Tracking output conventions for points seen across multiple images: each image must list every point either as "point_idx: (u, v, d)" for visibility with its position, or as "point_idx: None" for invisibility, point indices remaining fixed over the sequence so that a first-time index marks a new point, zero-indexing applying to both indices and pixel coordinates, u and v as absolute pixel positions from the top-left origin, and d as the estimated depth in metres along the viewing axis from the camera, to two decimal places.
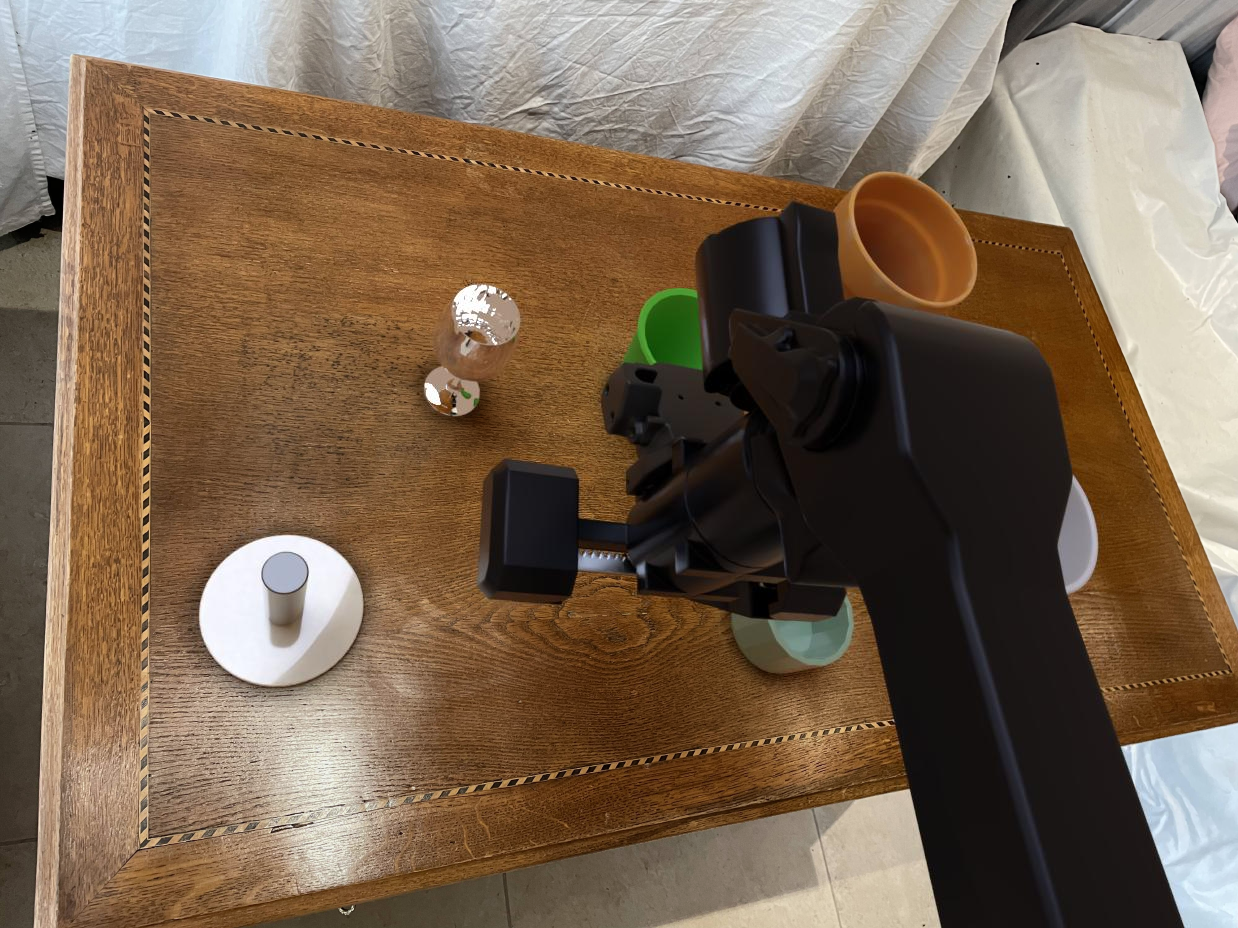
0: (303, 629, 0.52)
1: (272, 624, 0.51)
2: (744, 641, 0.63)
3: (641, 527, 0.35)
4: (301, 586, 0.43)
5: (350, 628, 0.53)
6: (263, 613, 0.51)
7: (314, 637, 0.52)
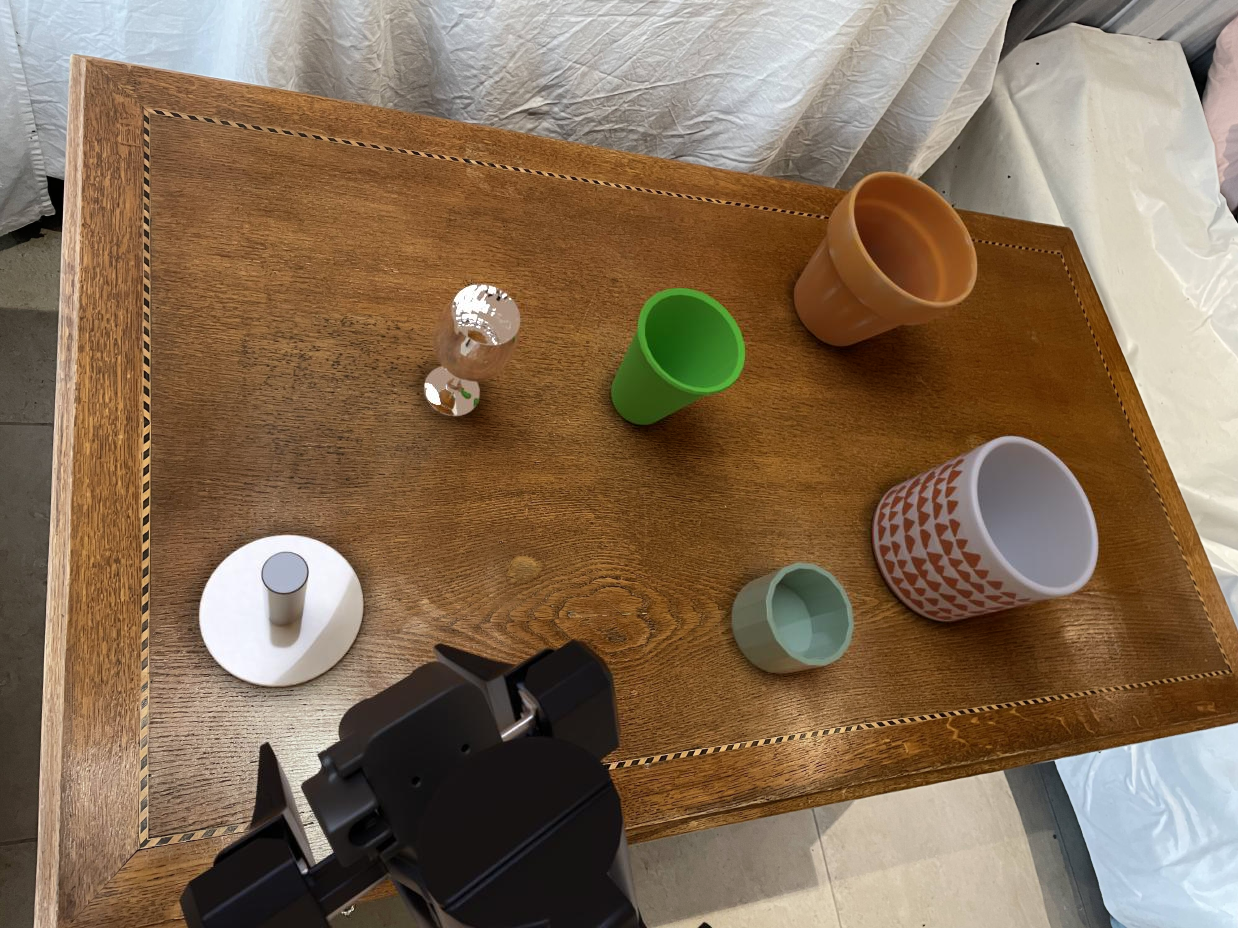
0: (303, 629, 0.52)
1: (272, 624, 0.51)
2: (744, 641, 0.63)
3: (403, 900, 0.31)
4: (301, 586, 0.43)
5: (350, 628, 0.53)
6: (263, 613, 0.51)
7: (314, 637, 0.52)
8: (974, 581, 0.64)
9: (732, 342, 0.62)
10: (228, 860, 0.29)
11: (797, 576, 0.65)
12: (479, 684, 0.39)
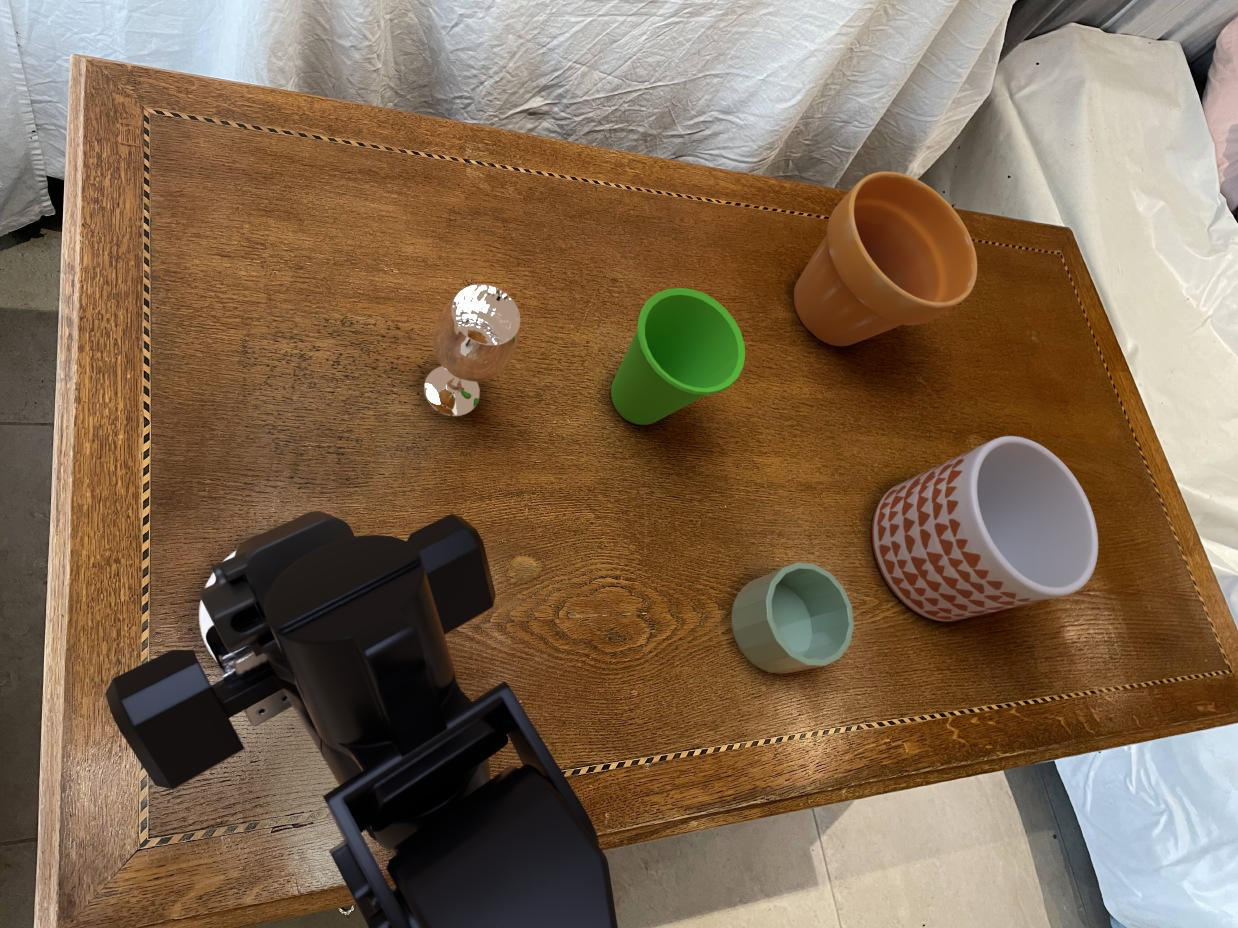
0: None
1: None
2: (744, 641, 0.63)
3: (291, 704, 0.38)
4: None
5: None
6: None
7: None
8: (974, 581, 0.64)
9: (732, 342, 0.62)
10: (146, 664, 0.36)
11: (797, 576, 0.65)
12: None
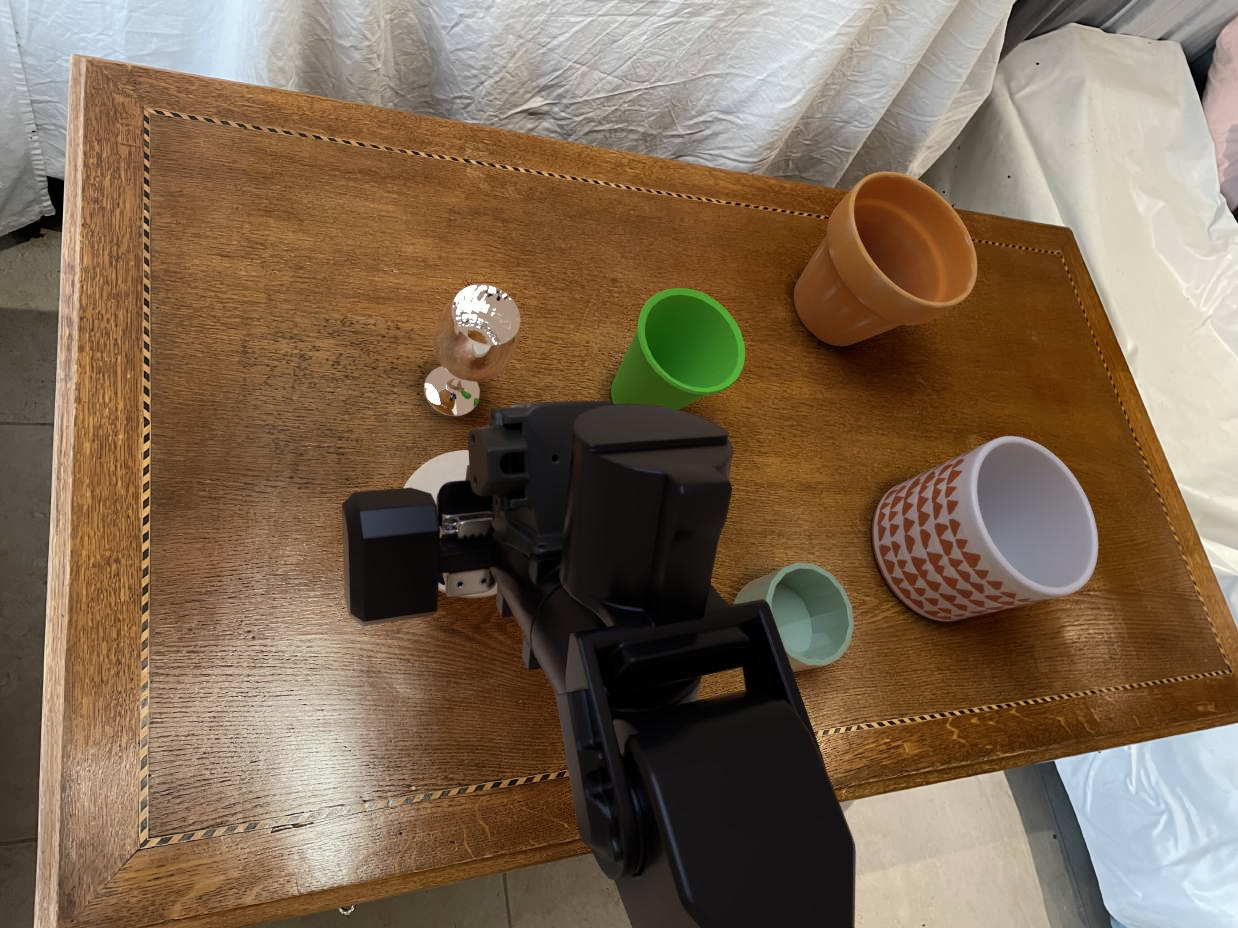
0: None
1: None
2: None
3: (500, 580, 0.37)
4: None
5: None
6: None
7: None
8: (974, 581, 0.64)
9: (732, 342, 0.62)
10: (385, 491, 0.36)
11: (797, 576, 0.65)
12: None
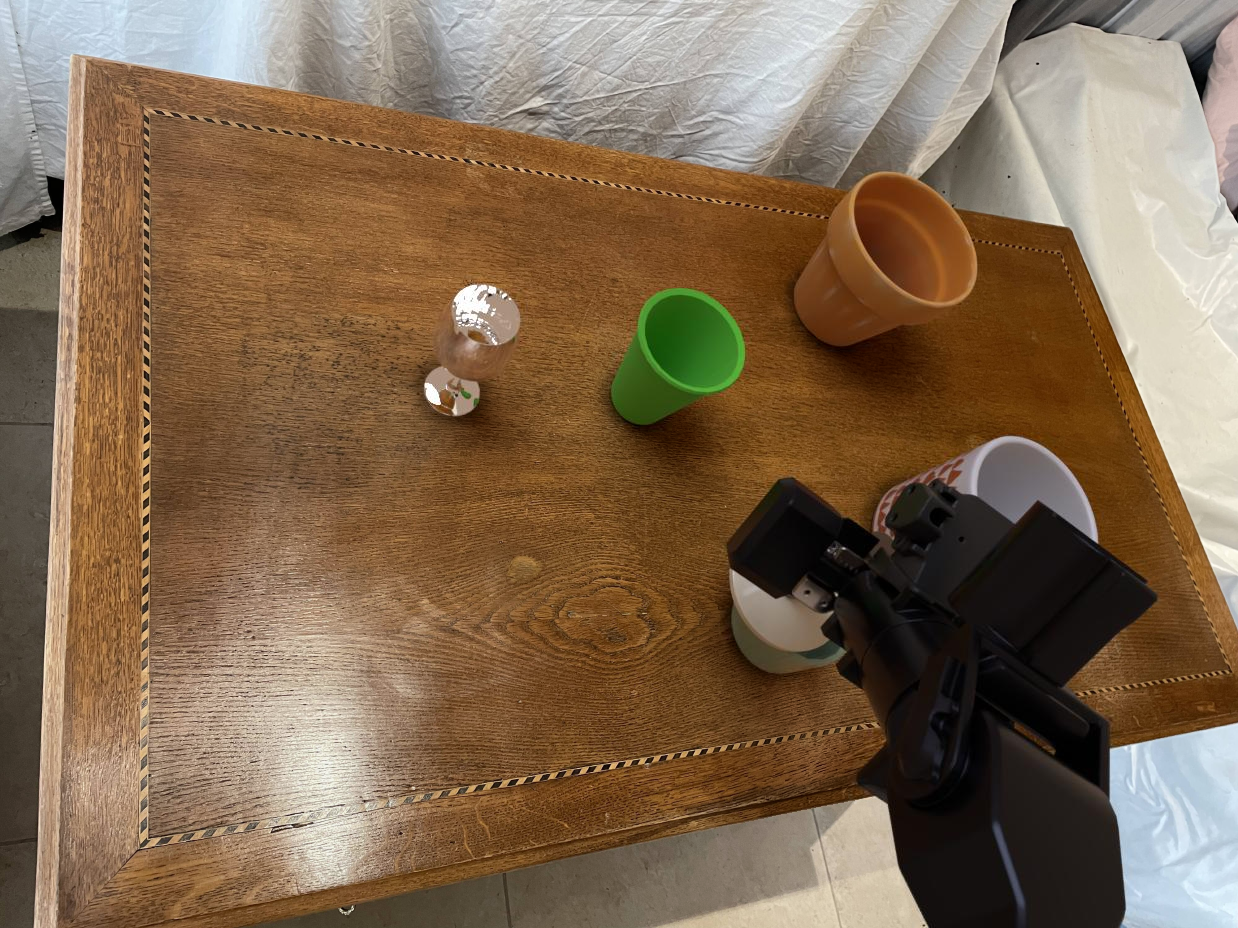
0: (787, 607, 0.58)
1: None
2: (744, 641, 0.63)
3: (850, 603, 0.44)
4: None
5: (808, 642, 0.58)
6: None
7: (787, 619, 0.58)
8: None
9: (732, 342, 0.62)
10: (811, 491, 0.46)
11: None
12: None
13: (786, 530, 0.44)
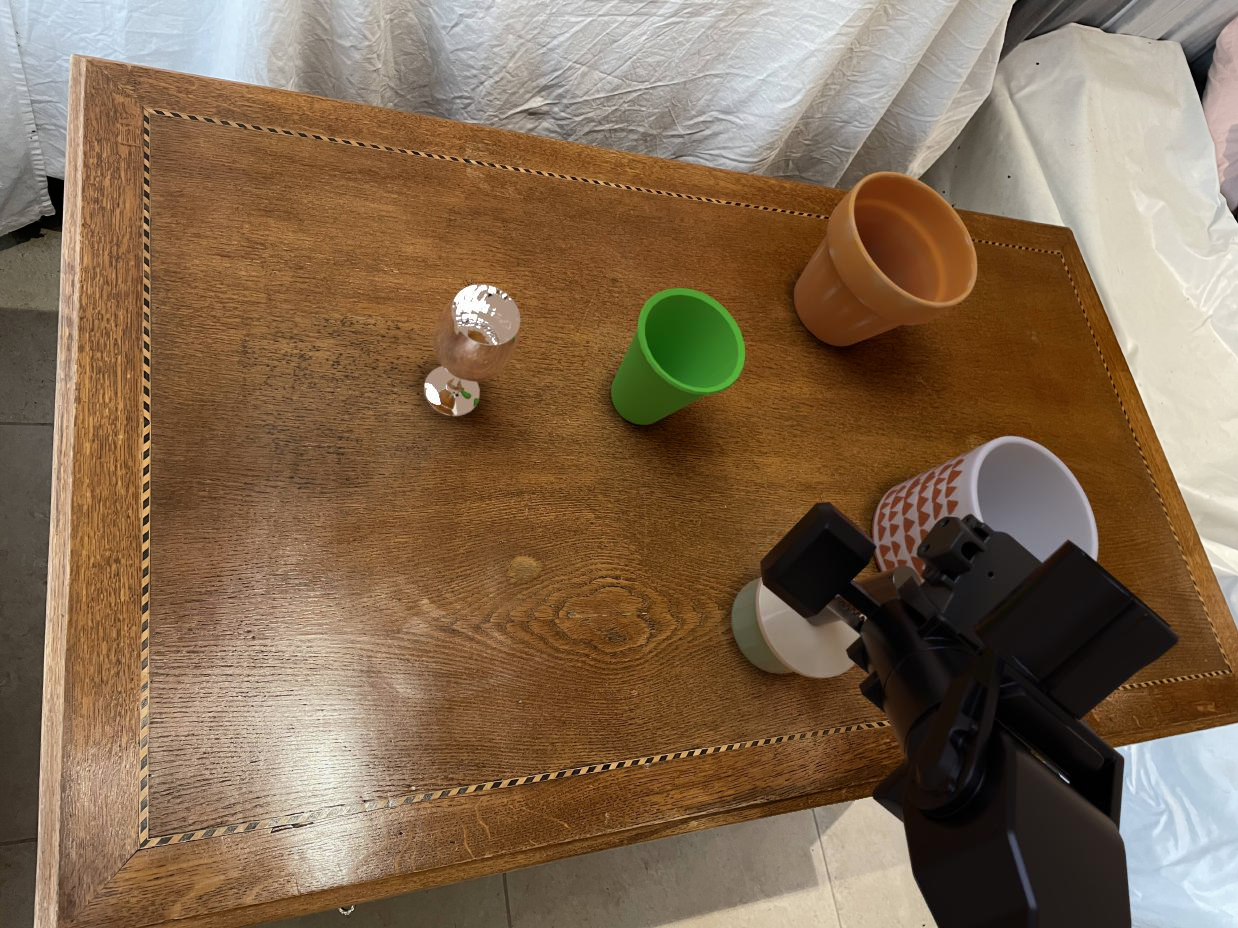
0: (809, 633, 0.60)
1: None
2: (744, 641, 0.63)
3: (877, 627, 0.45)
4: None
5: (828, 669, 0.59)
6: None
7: (809, 645, 0.60)
8: None
9: (732, 342, 0.62)
10: (846, 517, 0.47)
11: None
12: None
13: (820, 552, 0.46)
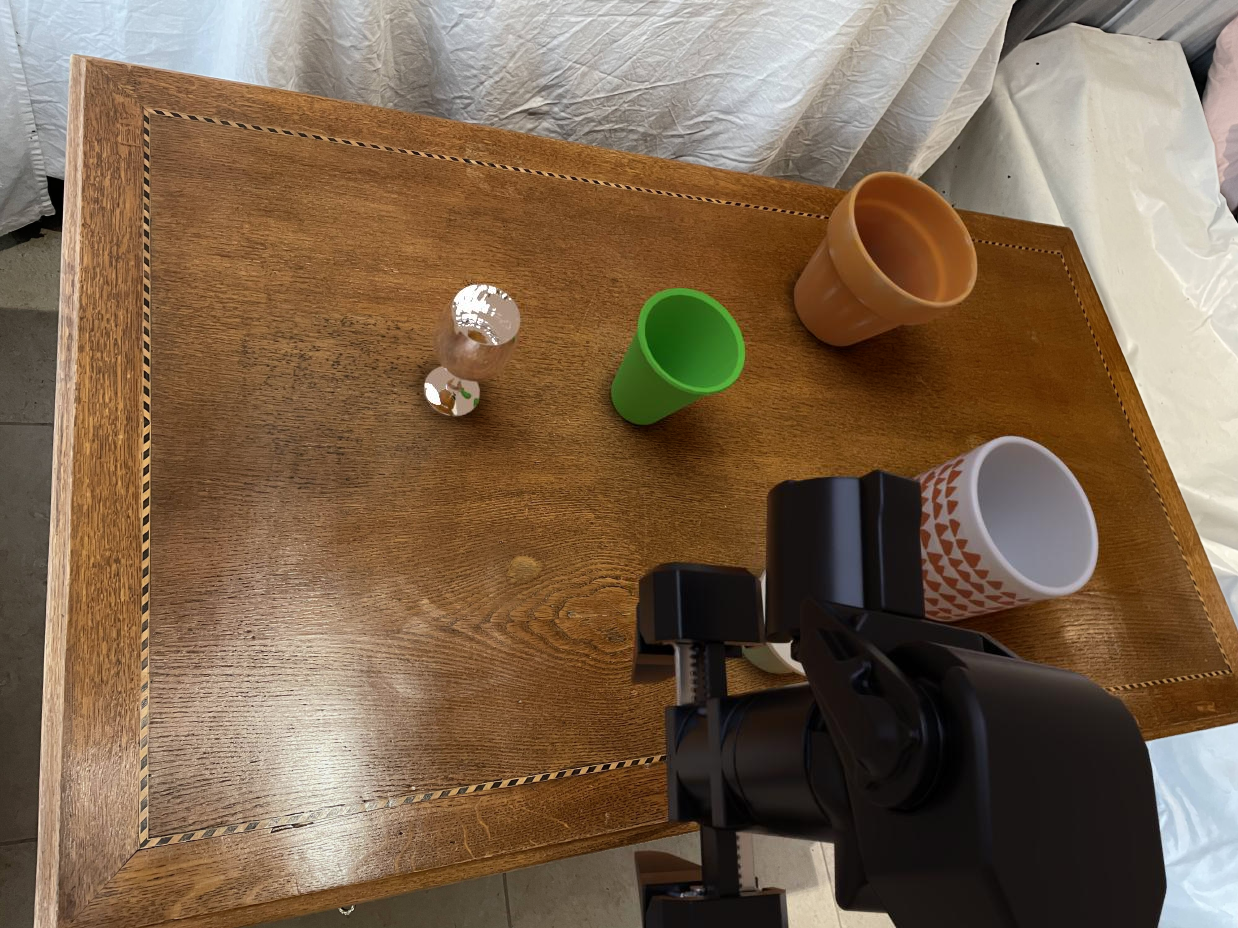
0: None
1: None
2: None
3: None
4: None
5: None
6: None
7: None
8: (974, 581, 0.64)
9: (732, 342, 0.62)
10: None
11: None
12: (691, 866, 0.39)
13: (733, 590, 0.39)
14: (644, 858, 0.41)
